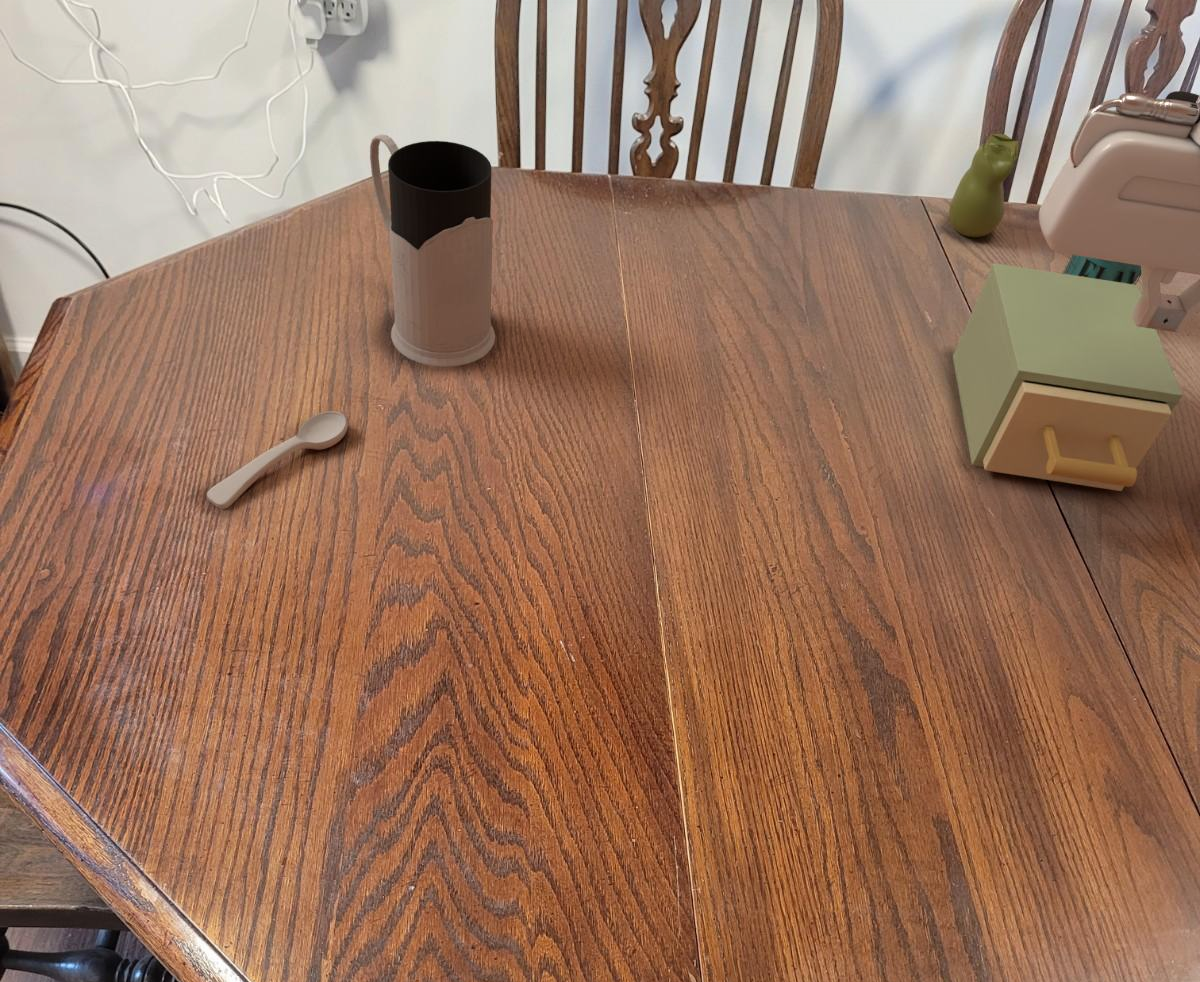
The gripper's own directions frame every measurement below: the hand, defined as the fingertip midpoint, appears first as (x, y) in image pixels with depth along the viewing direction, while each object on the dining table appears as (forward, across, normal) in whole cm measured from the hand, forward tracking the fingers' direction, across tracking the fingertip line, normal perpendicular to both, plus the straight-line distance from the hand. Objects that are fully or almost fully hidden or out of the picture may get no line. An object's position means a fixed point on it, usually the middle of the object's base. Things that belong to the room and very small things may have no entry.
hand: (1155, 324), depth 69 cm
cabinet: (+16, 0, +10) cm, 19 cm away
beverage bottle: (+16, +8, +29) cm, 34 cm away
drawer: (+16, 0, +6) cm, 17 cm away
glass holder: (+17, -52, +11) cm, 56 cm away
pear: (+16, -2, +40) cm, 43 cm away
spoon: (+17, -58, -9) cm, 61 cm away
